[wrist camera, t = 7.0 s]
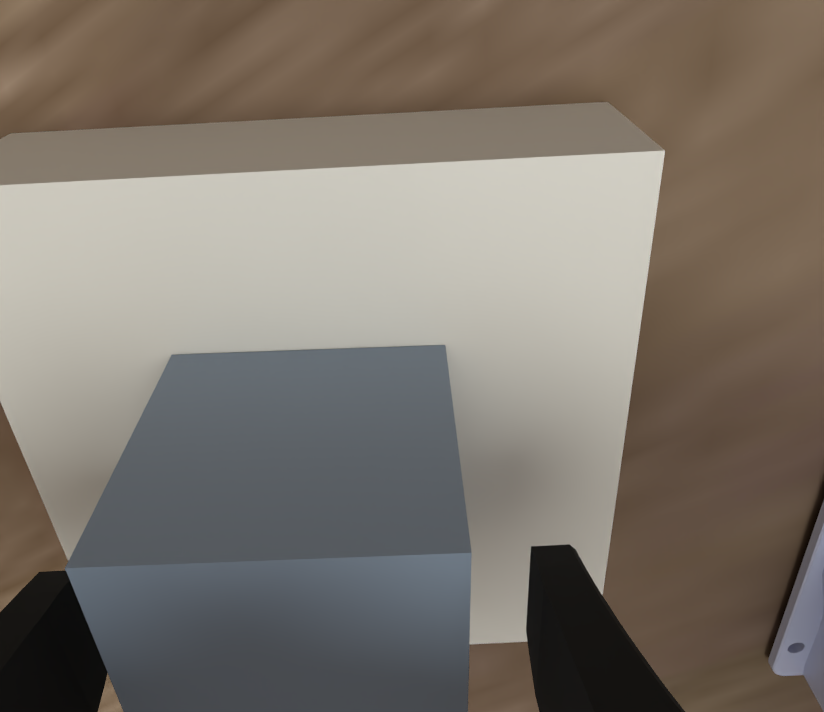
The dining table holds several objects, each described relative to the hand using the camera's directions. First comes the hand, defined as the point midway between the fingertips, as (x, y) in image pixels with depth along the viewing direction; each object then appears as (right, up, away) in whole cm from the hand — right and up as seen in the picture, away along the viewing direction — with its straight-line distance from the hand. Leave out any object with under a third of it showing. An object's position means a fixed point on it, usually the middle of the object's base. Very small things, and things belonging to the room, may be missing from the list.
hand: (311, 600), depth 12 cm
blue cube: (0, +2, +3) cm, 3 cm away
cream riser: (0, +4, +6) cm, 7 cm away
